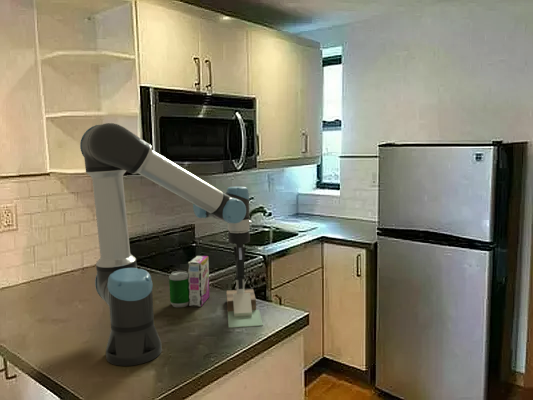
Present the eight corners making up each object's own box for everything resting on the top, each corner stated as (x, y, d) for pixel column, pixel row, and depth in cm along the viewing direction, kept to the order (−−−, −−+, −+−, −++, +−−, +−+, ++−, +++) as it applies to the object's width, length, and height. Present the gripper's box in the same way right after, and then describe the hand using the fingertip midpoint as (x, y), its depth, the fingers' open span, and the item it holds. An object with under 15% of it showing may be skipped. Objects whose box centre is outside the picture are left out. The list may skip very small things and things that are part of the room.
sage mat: (262, 325, 147) (262, 324, 147) (228, 328, 146) (228, 327, 146) (258, 310, 161) (258, 309, 161) (227, 312, 160) (227, 311, 160)
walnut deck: (256, 310, 161) (255, 299, 161) (227, 312, 160) (227, 301, 160) (253, 299, 173) (253, 289, 172) (226, 300, 172) (226, 290, 171)
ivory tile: (251, 315, 156) (252, 312, 154) (234, 316, 155) (234, 313, 154) (250, 296, 161) (250, 292, 160) (232, 297, 161) (232, 293, 159)
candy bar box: (202, 307, 166) (200, 262, 164) (188, 306, 167) (186, 262, 165) (210, 296, 177) (208, 255, 175) (198, 296, 178) (196, 255, 176)
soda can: (189, 307, 165) (187, 275, 164) (168, 308, 165) (166, 276, 164) (192, 300, 173) (191, 269, 171) (172, 301, 173) (171, 270, 171)
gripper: (251, 234, 153) (252, 302, 156) (248, 227, 166) (249, 290, 169) (228, 235, 152) (230, 303, 155) (227, 228, 165) (229, 291, 168)
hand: (240, 296), depth 162 cm, fingers closed
